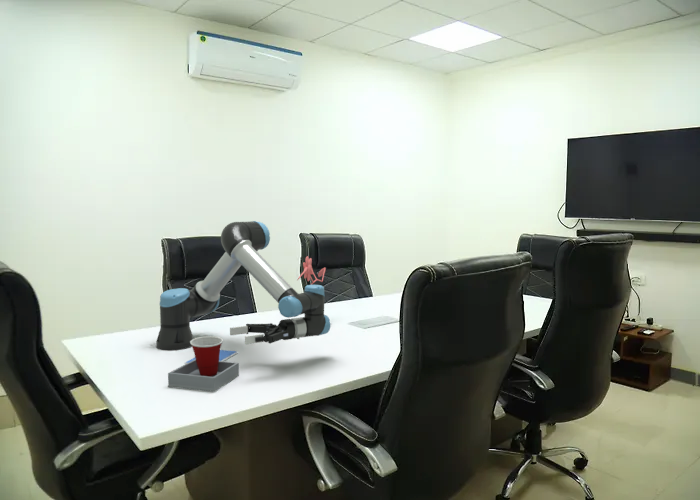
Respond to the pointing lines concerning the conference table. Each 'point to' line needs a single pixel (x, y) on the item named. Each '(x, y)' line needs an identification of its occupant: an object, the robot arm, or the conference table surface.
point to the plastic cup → (207, 354)
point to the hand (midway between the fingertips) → (237, 335)
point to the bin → (192, 379)
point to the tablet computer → (221, 355)
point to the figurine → (311, 271)
